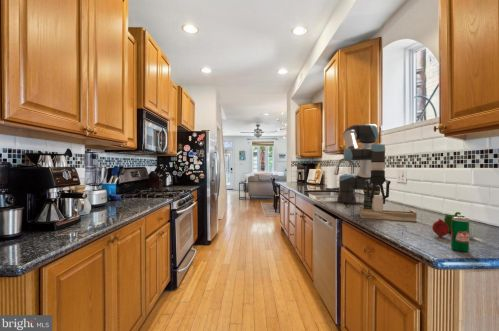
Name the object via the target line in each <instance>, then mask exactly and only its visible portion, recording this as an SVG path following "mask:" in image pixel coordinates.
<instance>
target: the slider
mask: <svg viewBox="0 0 499 331" xmlns="http://www.w3.org/2000/svg"><path fill="white" fill-rule="evenodd" d="M373 198H374V209H373V211H376V212H382V194H381V195H373Z"/></svg>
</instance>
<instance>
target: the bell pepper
mask: <svg viewBox="0 0 499 331" xmlns="http://www.w3.org/2000/svg"><path fill="white" fill-rule="evenodd" d="M461 214H462V212H460V211H456V212H455V213H454V214H452V215H451V214H445V216H444V220H443V221H444V222H445V223H446V224H447V225H448V227H449V233H450V234H451V219H452V218H453V217H454V216H457V217H465V215H461Z"/></svg>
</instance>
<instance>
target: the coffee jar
mask: <svg viewBox="0 0 499 331" xmlns="http://www.w3.org/2000/svg"><path fill="white" fill-rule="evenodd" d="M372 186H373V185H369V195H371V190H372ZM362 191H363V195H364V196H363V197H364V198H363V207H362V208H363V209H372V203H370V197H368V196H367V186H366V185H364V188H363V190H362ZM380 194H381V189H380V186H379V185H376V186H375V190H374V194H373V195H380Z"/></svg>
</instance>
